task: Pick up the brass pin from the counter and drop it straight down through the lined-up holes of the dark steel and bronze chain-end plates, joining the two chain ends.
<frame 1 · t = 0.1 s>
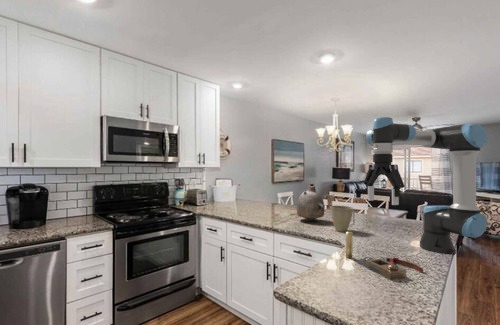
hand: (382, 202, 112), 28 cm above the table, tool pointing down, fingers open, 13 cm apart
brass pin: (349, 257, 123), on the table
plant pot: (341, 230, 176), on the table
pliers: (400, 266, 114), on the table
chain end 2: (380, 269, 109), on the table
chain end 1: (380, 269, 109), on the table
jug: (310, 221, 205), on the table
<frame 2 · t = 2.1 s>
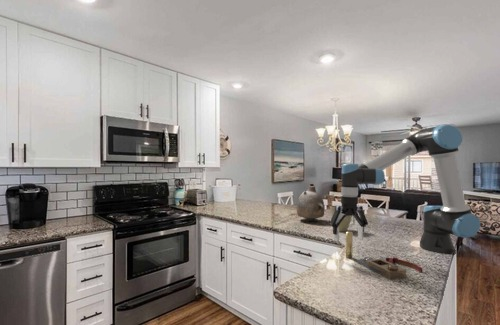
hand: (348, 240, 123), 8 cm above the table, tool pointing down, fingers open, 13 cm apart
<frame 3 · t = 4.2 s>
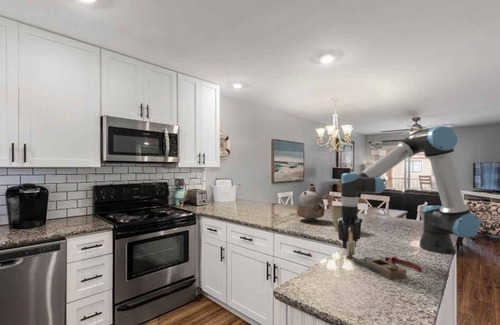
hand: (349, 254, 123), 1 cm above the table, tool pointing down, fingers closed on brass pin, 3 cm apart
brass pin: (349, 257, 123), on the table, touching gripper
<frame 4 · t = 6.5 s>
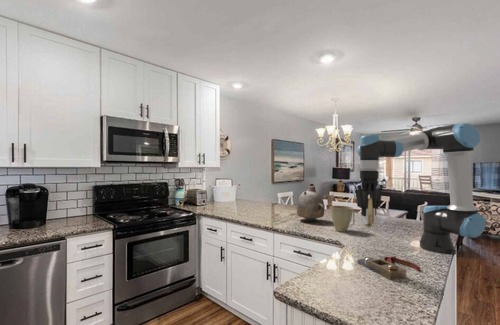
hand: (368, 223, 114), 18 cm above the table, tool pointing down, fingers closed on brass pin, 3 cm apart
brass pin: (368, 225, 114), point 17 cm above the table, touching gripper
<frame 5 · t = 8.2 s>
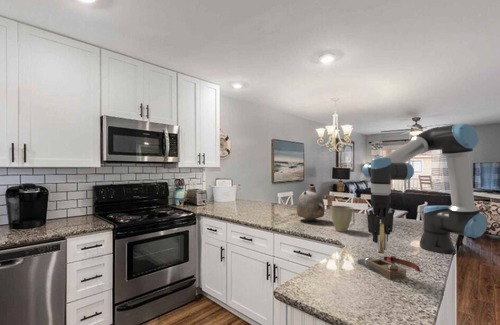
hand: (380, 249, 109), 8 cm above the table, tool pointing down, fingers closed on brass pin, 3 cm apart
brass pin: (380, 252, 109), point 7 cm above the table, touching gripper
when the fingers open (5 cm above the table, at t = 9.4 s): brass pin drops 4 cm, resting in chain end 1.
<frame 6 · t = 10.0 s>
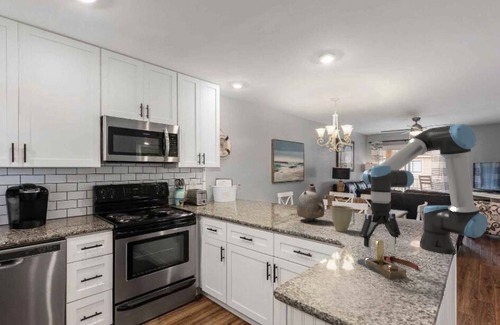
hand: (380, 253, 109), 7 cm above the table, tool pointing down, fingers open, 12 cm apart
brass pin: (380, 269, 109), resting in chain end 1
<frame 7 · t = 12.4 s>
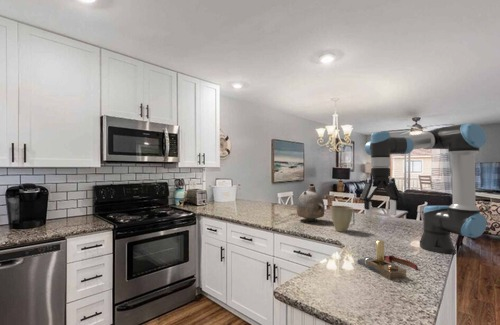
hand: (380, 215, 113), 22 cm above the table, tool pointing down, fingers open, 13 cm apart
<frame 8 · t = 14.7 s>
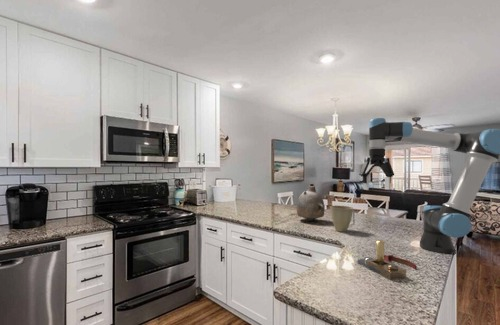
hand: (376, 189, 133), 32 cm above the table, tool pointing down, fingers open, 13 cm apart
at the end: brass pin 0.1 cm off-centre on the chain end 1, point 0.0 cm above the chain end 1's base; brass pin tilted 0°; the gripper is holding nothing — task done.
